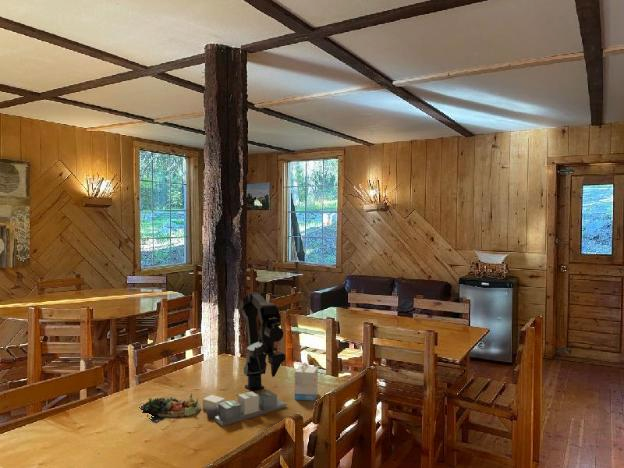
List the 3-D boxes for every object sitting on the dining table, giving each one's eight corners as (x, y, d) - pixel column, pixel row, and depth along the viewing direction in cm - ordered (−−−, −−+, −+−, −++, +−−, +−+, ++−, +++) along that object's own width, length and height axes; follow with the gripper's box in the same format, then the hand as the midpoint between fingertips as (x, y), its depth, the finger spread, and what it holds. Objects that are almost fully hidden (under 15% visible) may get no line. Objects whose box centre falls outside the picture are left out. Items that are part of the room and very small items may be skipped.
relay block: (202, 408, 178) (202, 398, 178) (211, 404, 182) (211, 394, 182) (215, 413, 174) (215, 402, 174) (224, 408, 178) (224, 398, 178)
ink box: (314, 401, 186) (314, 368, 185) (294, 399, 187) (294, 367, 187) (318, 393, 194) (318, 362, 194) (298, 392, 196) (299, 361, 195)
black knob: (205, 416, 171) (205, 408, 170) (214, 413, 173) (214, 405, 173) (211, 419, 168) (211, 411, 168) (220, 416, 171) (220, 408, 171)
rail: (214, 420, 167) (214, 403, 167) (277, 402, 184) (278, 387, 184) (222, 426, 162) (222, 409, 162) (286, 407, 180) (286, 391, 179)
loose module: (238, 410, 172) (238, 394, 172) (251, 406, 176) (251, 390, 176) (244, 414, 169) (244, 398, 168) (258, 410, 172) (258, 394, 172)
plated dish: (229, 410, 178) (228, 391, 178) (169, 438, 155) (169, 417, 155) (172, 391, 198) (171, 375, 198) (111, 414, 175) (111, 395, 175)
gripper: (239, 333, 187) (238, 370, 187) (262, 343, 172) (261, 384, 172) (262, 329, 193) (262, 365, 194) (286, 339, 178) (286, 378, 179)
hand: (267, 373), depth 185 cm, fingers open, 9 cm apart
